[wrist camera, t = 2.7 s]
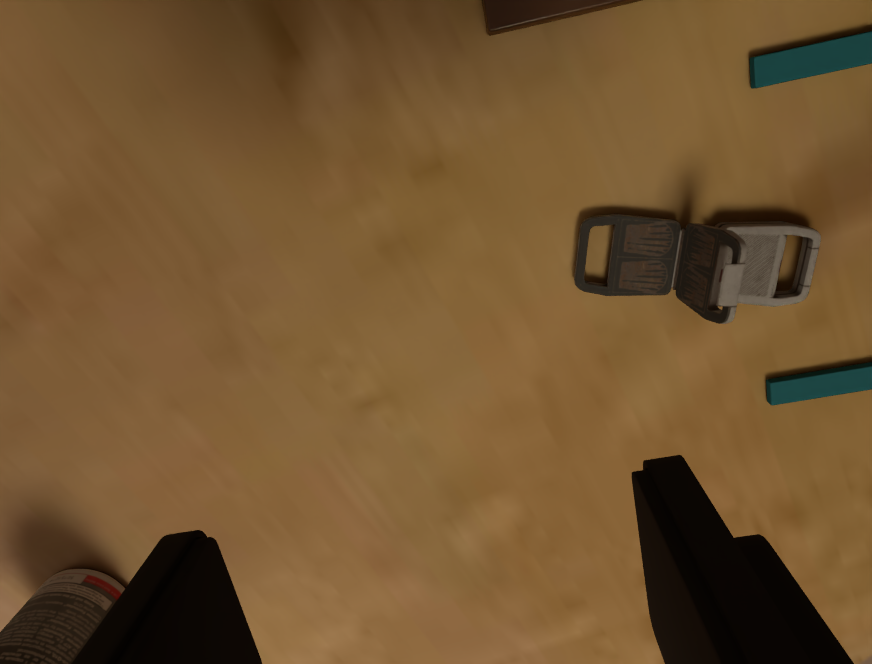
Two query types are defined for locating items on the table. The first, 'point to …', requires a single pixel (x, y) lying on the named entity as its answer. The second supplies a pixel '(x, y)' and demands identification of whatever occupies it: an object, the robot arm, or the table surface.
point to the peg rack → (537, 12)
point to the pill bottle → (59, 618)
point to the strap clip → (700, 262)
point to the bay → (791, 68)
